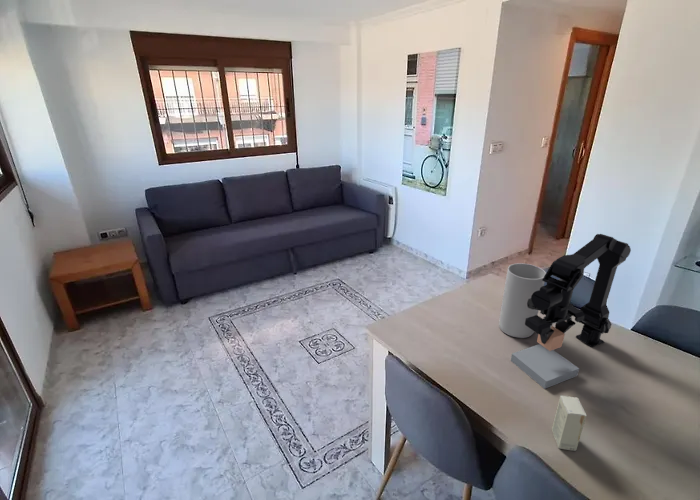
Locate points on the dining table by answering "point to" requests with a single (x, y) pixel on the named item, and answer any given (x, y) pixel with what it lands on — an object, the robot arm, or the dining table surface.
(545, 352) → the slate base
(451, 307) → the dining table surface
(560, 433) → the skincare box
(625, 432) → the dining table surface
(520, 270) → the cylinder vase
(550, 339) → the terracotta cube
